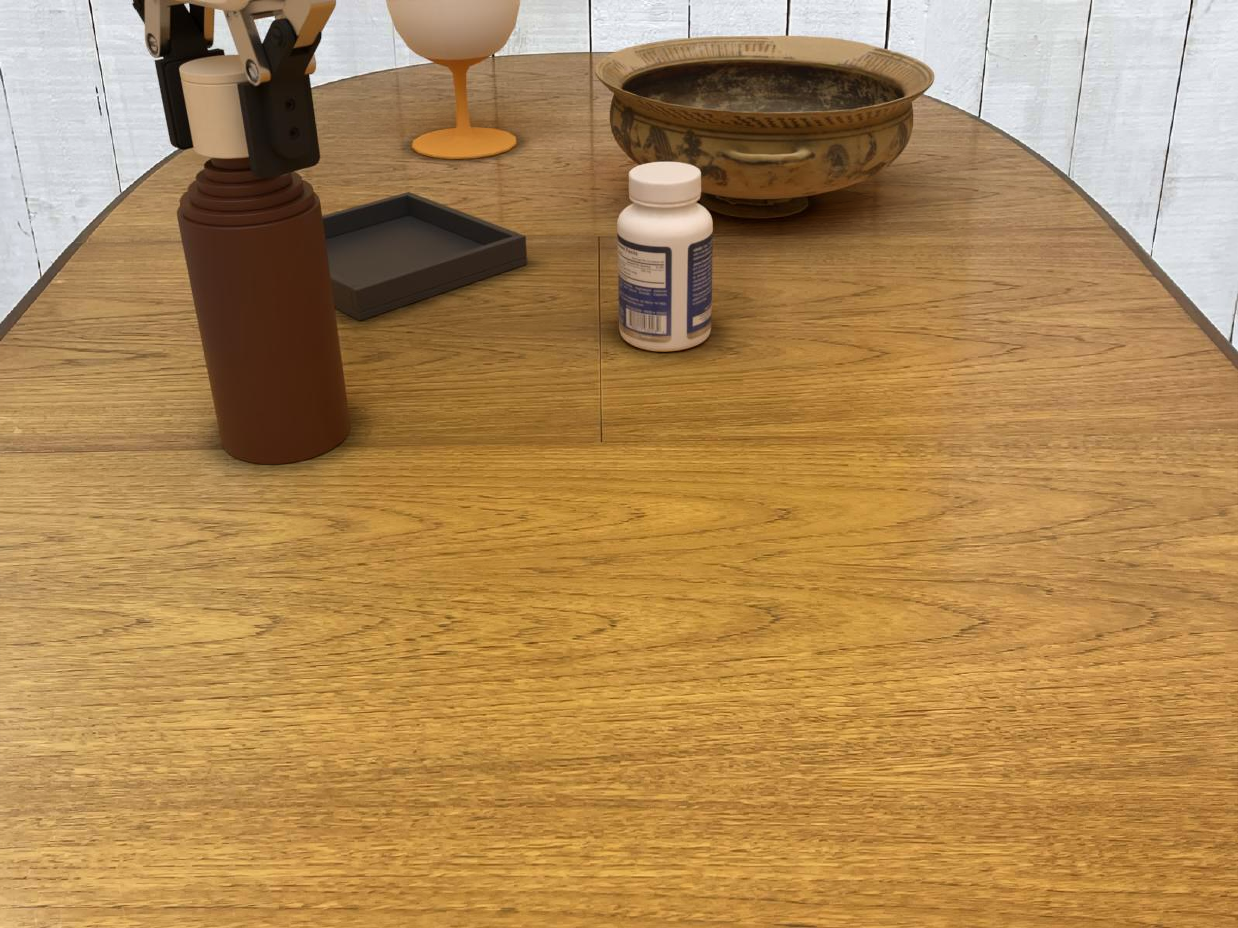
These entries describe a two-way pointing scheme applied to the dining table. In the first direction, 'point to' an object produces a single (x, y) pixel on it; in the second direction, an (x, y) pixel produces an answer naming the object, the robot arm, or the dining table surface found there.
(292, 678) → the dining table surface
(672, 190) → the pill bottle
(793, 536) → the dining table surface
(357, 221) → the tray
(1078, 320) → the dining table surface
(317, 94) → the dining table surface
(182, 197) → the sauce bottle
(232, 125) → the cap
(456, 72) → the cup
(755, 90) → the ceramic bowl
